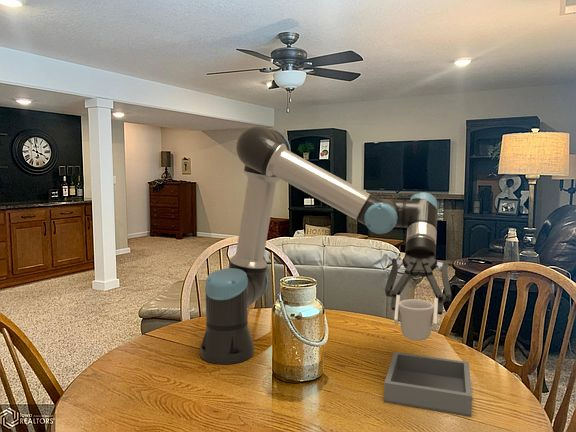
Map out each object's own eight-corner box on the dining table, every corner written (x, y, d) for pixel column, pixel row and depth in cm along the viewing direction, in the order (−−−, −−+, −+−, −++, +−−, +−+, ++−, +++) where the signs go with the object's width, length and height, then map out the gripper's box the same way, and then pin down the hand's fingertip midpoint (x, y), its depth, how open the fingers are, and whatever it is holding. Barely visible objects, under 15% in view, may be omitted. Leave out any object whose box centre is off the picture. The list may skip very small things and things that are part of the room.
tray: (383, 401, 103) (384, 382, 103) (393, 368, 121) (393, 351, 120) (471, 416, 97) (472, 396, 97) (468, 379, 114) (468, 361, 114)
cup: (393, 326, 114) (393, 295, 113) (425, 326, 114) (426, 295, 113) (401, 343, 103) (402, 308, 103) (437, 343, 103) (438, 308, 102)
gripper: (463, 254, 118) (463, 336, 104) (381, 250, 125) (371, 326, 111) (464, 236, 112) (464, 321, 99) (379, 233, 119) (368, 312, 106)
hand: (415, 324), depth 105 cm, fingers closed on cup, 8 cm apart
